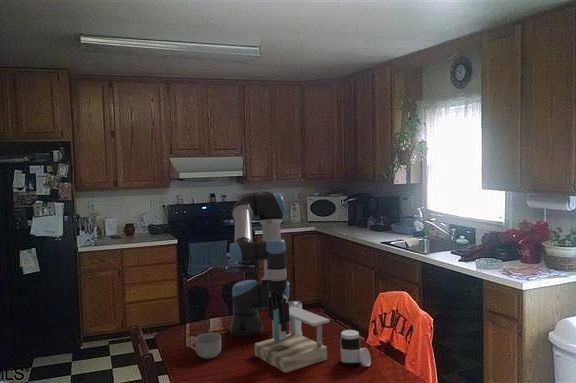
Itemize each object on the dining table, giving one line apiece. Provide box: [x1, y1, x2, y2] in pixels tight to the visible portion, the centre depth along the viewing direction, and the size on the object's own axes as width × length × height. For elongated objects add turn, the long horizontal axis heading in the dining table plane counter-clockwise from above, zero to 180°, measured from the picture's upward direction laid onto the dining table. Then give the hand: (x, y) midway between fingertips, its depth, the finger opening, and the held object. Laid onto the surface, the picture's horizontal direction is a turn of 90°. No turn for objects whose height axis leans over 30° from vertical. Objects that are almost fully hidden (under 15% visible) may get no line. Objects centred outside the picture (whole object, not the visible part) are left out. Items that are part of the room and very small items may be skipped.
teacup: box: [187, 332, 222, 360], centre depth 204 cm, size 14×11×8 cm
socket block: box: [254, 333, 328, 373], centre depth 199 cm, size 22×20×5 cm
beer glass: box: [288, 300, 303, 336], centre depth 224 cm, size 7×7×15 cm
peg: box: [273, 309, 284, 342], centre depth 196 cm, size 4×4×12 cm
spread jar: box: [339, 329, 372, 368], centre depth 191 cm, size 12×11×12 cm
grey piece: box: [289, 306, 330, 348], centre depth 203 cm, size 24×8×11 cm, turn 35°
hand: (279, 337), depth 196 cm, fingers closed on peg, 4 cm apart
